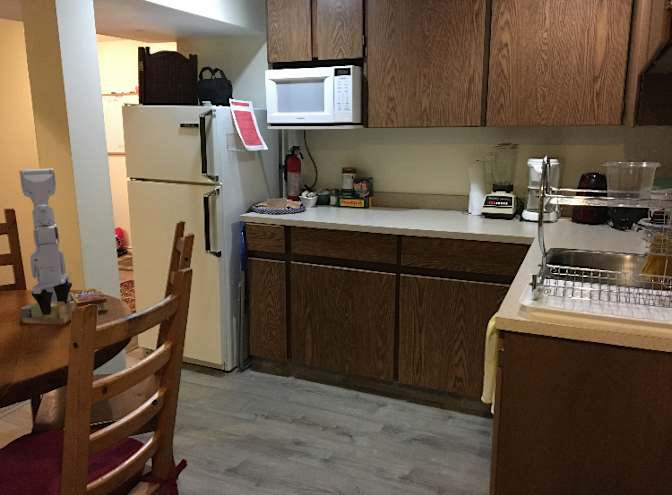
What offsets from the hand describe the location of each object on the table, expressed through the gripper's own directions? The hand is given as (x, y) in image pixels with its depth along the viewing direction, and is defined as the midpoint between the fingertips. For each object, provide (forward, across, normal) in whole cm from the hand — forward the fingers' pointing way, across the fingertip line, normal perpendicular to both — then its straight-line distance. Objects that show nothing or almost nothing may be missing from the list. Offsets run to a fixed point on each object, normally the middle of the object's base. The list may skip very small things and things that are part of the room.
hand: (54, 310), depth 173 cm
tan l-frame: (+3, 0, +2) cm, 3 cm away
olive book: (+3, 0, +4) cm, 5 cm away
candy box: (+1, +8, -8) cm, 11 cm away
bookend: (+3, 0, +8) cm, 9 cm away
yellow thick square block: (+3, 0, 0) cm, 3 cm away
